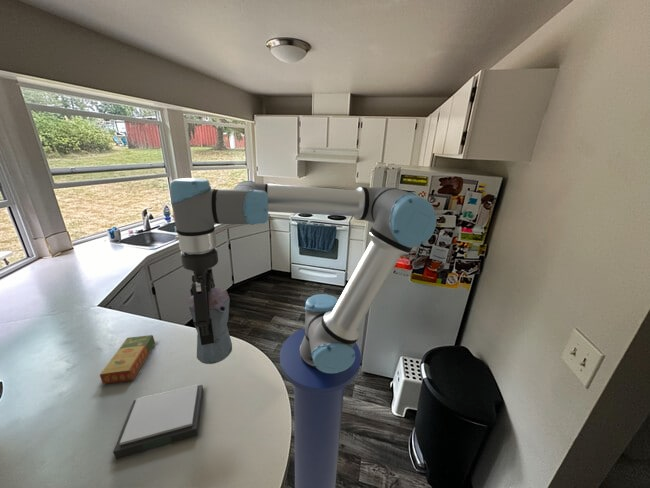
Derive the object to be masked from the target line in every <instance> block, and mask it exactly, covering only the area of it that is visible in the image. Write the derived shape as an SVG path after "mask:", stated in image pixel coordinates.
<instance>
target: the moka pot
mask: <svg viewBox="0 0 650 488" xmlns="http://www.w3.org/2000/svg"><path fill="white" fill-rule="evenodd" d="M206 289H207V288H206ZM189 292H190V297H188V299H187V303H188V309H189V312H190V316H191V318H192V321H193V323H194V322H196V321H195V309H194V298H193V290H192V287H190V290H189ZM230 301H231V300H230V295H229V294H228V291H227V290H226V289H221V288H217V287H215V288H211V291H210V292H209V312H210V319H211V321H212V329H213V336H214V343H212V344H206V345H201V339H200V333H199V327H196V325H194V327H195V330H196V333H197V334H196V359H197V360H198V362H200V363H201V364H205V365H213V364H218V363H220V362H223V361H224V360H225V359H227V358H228V357H229V356H230V354H231V353H232V352H233V342H232V339H231V336H230V332H229V328H228V322H229V315H230V313H229V312H230Z"/></svg>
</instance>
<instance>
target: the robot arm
mask: <svg viewBox="0 0 650 488" xmlns="http://www.w3.org/2000/svg"><path fill="white" fill-rule="evenodd" d="M169 191H170V200H171V201H170V204H171V207H172V213H173V218H174V223H175V228H176V229H175V230H176V234H177V235H175V237H174V240H176V241H178V246H179V250H180V259H181V265H182V267H183V268H184V269H185V270H187V271H191V272H193V274H192V275H191V281H192V282H191V287H190V288H192V290H193V298H194V309H195V321H196V322H194V321H193V325H194V326H195V325H196V327H199V333H200V339H201V345H206V344H212V343H214V336H213V329H212V321H211V319H210V312H209V292H210V291H211V288H216V285H215V279H214V274H213V267H215V266H216V265H217V264H218V263H219V253H218V248H217V246H218V243H217V234H216V229H215V225H252V226H253V225H260V224H261V225H262V224H266V223H267V222H268V221H269V213H283V214H284V213H285V214H302V215H303V214H304V215H306V214H307V215H323V216H345V217H353V218H354V219H355V220H356V221H366V222H370V223H372V225H371V228H370V229H369V232H368V234H369V237H370V241H369V243H368V245H367V247H366V249H365V251H364V252H363V254H362V255H361V258H360V260H359V261H358V263H357V265H356V267H355V269H354V271H353V272H352V274H351V276H350V278H349V280H348V281H347V283H346V285H345V287H344V289H343V290H342V292H341V294H340V296H339V297H338V298H337V297H336V296H334V295H331V294H325V293H323V294H314V295H311V296H310V297H308V298H307V299H306V301H305V305H304V310H305V311H304V312H305V313H304V314H305V315H304V328H305V336H304V339H303V341H302V343H301V346H300V357H301V359H302V361H303V362H304V363H305V364H306V365H307V366H309V367H311V368H314V369H319V370H320V371H322V372H325V373H338V372H342V371H344V370H346V369H348V368H349V367H350V366H351V365H352V364H353V363H354V360H355V351H354V350H353V346H354V344H355V343H356V344H357V341H358V339H359V338H360V335H361V331H360V329H359V327H360V326H361V324H362V322H363V320H364V319H365V317H366V315H367V313H368V312H369V310H370V308H371V307H372V305H373V304H374V302H375V300H376V299H377V297H378V295H379V293H380V292H381V290H382V289H383V287H384V285H385V283H386V282H387V280H388V279H389V276H390V275H391V273H392V272H393V270H394V268H395V267H396V265H397V263H398V262H399V260H400V258H401V257H403V256H406V255H410V254H411V252H412V251H413V248H416V247H417V248H418V247H420V246H421V245H422V244H423V245H424V244H426V243H427V242H428V241H429V240H430V239H431V237H432V236H433V234H434V232H435V230H436V226H437V215H436V210H435V207H434V206H433V204H432V203H431V202H430V201H429V200H428V199H426V198H424V197H422V196H421V195H419V194H416V193H413V192H410V191H406V190H402V189H399V188H397V187H391V186H389V187H386V186H384V187H383V186H379V187H377V186H375V187H374V186H373V187H369V186H368V187H367V186H358V187H357V188H356V189H343V188H333V187H331V188H330V187H316V186H303V185H291V184H290V185H289V184H274V183H264V182H263V183H262V182H255V181H253V180H243V181H241V182H239V183H237V184H236V186H234V189H220V188H219V189H218V188H217V189H216V188H212V186H211V183H210V181H209V180H208V179H206V178H197V177H185V178H183V177H182V178H177V179H176V178H175V179H172V181H171V182H170V183H169ZM206 288H207V289H206Z"/></svg>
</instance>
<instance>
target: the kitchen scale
mask: <svg viewBox="0 0 650 488" xmlns="http://www.w3.org/2000/svg"><path fill="white" fill-rule="evenodd" d="M203 398H204V385H203V384H194V385H193V384H192V385H189V386H184V387H180V388H176V389H172V390H167V391H163V392H158V393H154V394H150V395H145V396H141V397H137V398H136V399H134V400H133V402H132V404H131V405H130V409H129V411H128V413H127V416H126V419H125V422H124V424H123V426H122V429H121V431H120V435H119V436H118V439H117V441H116V444H115V446H114V449H113V451H112V453H113V455H114V458H115V460H118V459H121V458H124V457H127V456H130V455H134V454H139V453H142V452H145V451H148V450H152V449H155V448H159V447H162V446H165V445H169V444H173V443H175V442H176V443H177V442H180V441H182V440H186V439H189V438H194V437H197V436H199V430H200V429H199V428H200V421H201V420H200V419H201V414H202V413H201V412H202V406H203V405H202V404H203Z"/></svg>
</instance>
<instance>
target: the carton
mask: <svg viewBox="0 0 650 488" xmlns="http://www.w3.org/2000/svg"><path fill="white" fill-rule="evenodd" d="M155 345H156V341H155V338H154V335H153V334H149V335H140V336H131V337H126V339H125V340H124V341H123V343H122V344H121V346H120V347H119V348H118V349H117V351H116V352H115V353H114V355H113V356H112V357H111V359H110V360H109V362H108V363H107V364H106V366H105V367H104V368H103V370H102V371H101V372H100V373H99V377H100V380H101V383H102V385H106V384H116V383H121V382H130V381H134V379H135V378H136V377H137V374H138V373H139V371H140V370H141V368H142V366H143V364H144V362H145V361H146V360H147V358H148V356H149V354H150V353H151V352H152V349H153V348H154V346H155Z"/></svg>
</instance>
